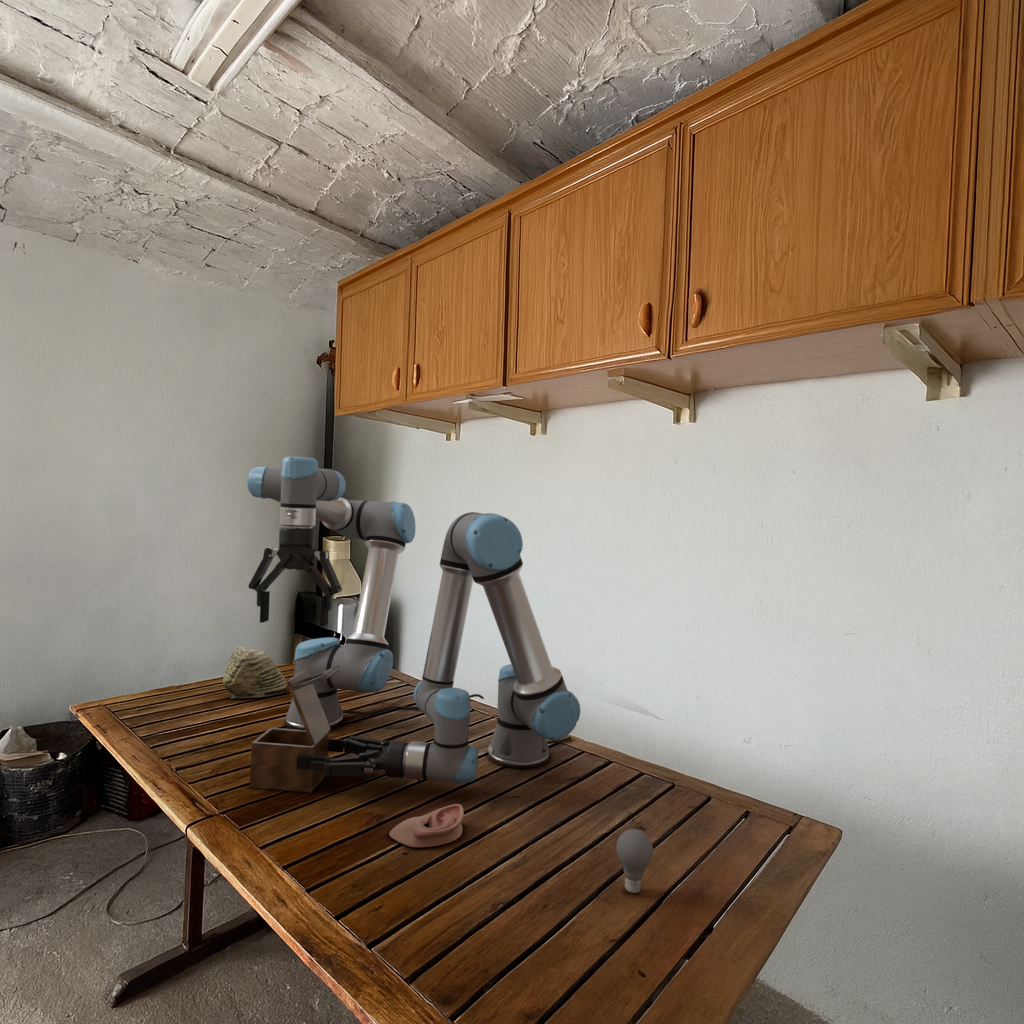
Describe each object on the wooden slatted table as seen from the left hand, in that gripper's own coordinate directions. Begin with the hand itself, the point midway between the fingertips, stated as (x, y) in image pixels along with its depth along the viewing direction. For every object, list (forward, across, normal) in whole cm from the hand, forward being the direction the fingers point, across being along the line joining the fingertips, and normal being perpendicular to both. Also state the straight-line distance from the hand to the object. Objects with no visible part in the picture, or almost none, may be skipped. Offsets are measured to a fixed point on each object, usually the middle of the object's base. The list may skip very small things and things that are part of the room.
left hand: (294, 623), depth 140 cm
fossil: (+35, -35, +55) cm, 74 cm away
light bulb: (+35, +72, -30) cm, 86 cm away
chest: (+35, 0, 0) cm, 35 cm away
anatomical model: (+35, +35, -17) cm, 52 cm away
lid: (+18, +4, 0) cm, 19 cm away
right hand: (+28, +4, 0) cm, 29 cm away
